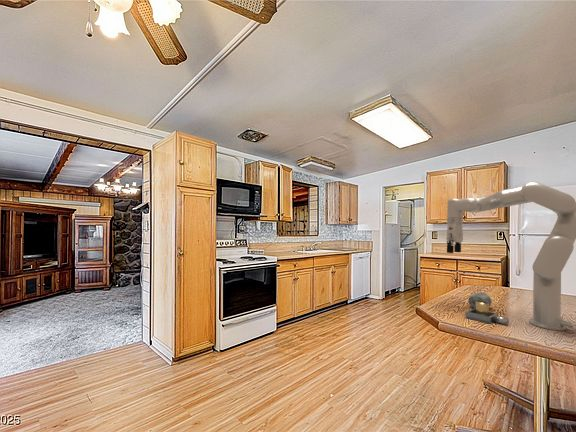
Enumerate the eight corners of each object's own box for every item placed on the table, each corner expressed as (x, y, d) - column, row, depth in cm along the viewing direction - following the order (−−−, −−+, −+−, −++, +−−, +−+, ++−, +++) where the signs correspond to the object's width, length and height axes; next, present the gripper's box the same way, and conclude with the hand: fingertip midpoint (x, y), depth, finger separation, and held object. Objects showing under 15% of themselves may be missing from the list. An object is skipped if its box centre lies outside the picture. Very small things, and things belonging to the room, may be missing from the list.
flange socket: (511, 323, 136) (511, 316, 136) (504, 327, 130) (504, 320, 130) (474, 314, 148) (474, 307, 148) (465, 317, 142) (465, 311, 142)
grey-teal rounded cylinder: (484, 306, 151) (477, 287, 157) (466, 310, 158) (461, 292, 164) (499, 310, 157) (492, 291, 162) (482, 314, 164) (476, 296, 169)
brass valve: (490, 317, 141) (490, 300, 141) (486, 319, 137) (486, 302, 138) (478, 314, 145) (478, 298, 145) (473, 316, 142) (474, 299, 142)
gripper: (455, 221, 152) (454, 254, 152) (468, 221, 163) (467, 252, 163) (440, 220, 158) (439, 252, 158) (454, 221, 169) (453, 251, 169)
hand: (453, 252), depth 160 cm, fingers open, 9 cm apart
